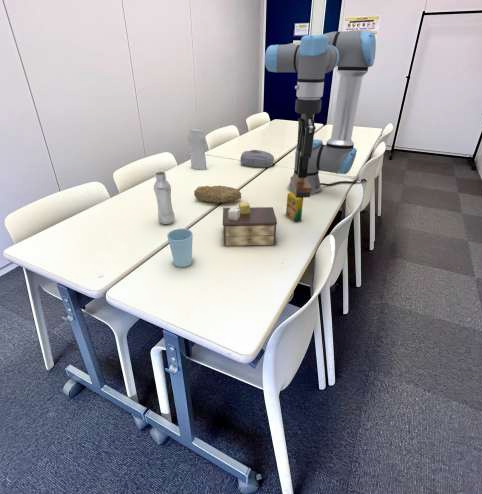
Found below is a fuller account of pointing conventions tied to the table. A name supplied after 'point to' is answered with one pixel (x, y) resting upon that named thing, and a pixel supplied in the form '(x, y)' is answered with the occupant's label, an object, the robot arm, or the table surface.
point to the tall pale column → (197, 149)
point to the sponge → (217, 194)
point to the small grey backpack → (257, 158)
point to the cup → (181, 246)
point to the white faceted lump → (233, 214)
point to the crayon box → (294, 207)
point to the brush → (300, 186)
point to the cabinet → (250, 227)
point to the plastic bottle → (163, 199)
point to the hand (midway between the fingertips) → (301, 175)
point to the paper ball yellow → (244, 207)
